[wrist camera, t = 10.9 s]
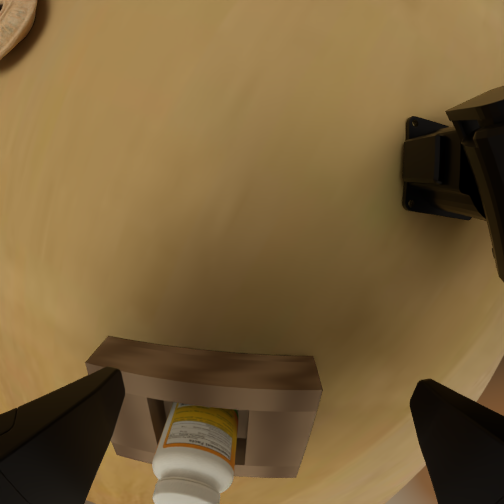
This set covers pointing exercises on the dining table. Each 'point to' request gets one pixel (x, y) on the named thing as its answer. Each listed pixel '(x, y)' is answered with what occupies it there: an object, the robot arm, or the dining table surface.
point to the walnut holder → (215, 400)
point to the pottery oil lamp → (15, 22)
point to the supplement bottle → (195, 455)
